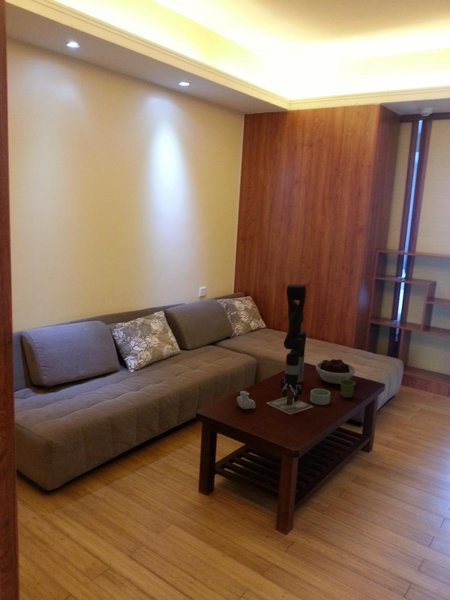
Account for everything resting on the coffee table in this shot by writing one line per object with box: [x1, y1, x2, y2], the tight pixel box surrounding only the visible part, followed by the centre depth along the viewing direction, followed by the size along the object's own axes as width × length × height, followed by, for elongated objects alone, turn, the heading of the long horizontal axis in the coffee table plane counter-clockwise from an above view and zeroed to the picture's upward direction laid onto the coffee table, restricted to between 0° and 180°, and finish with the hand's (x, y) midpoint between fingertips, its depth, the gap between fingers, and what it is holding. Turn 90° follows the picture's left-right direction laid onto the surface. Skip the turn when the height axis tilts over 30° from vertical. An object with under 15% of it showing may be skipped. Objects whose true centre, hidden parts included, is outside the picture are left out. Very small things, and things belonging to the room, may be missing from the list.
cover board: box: [269, 391, 311, 413], centre depth 274 cm, size 16×16×7 cm
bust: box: [236, 390, 256, 410], centre depth 269 cm, size 12×8×11 cm
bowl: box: [309, 388, 331, 406], centre depth 282 cm, size 11×11×6 cm
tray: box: [266, 397, 314, 415], centre depth 275 cm, size 19×19×1 cm
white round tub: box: [315, 358, 356, 385], centre depth 317 cm, size 25×25×15 cm
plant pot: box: [339, 379, 356, 399], centre depth 292 cm, size 9×9×9 cm
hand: (289, 399), depth 274 cm, fingers open, 8 cm apart
